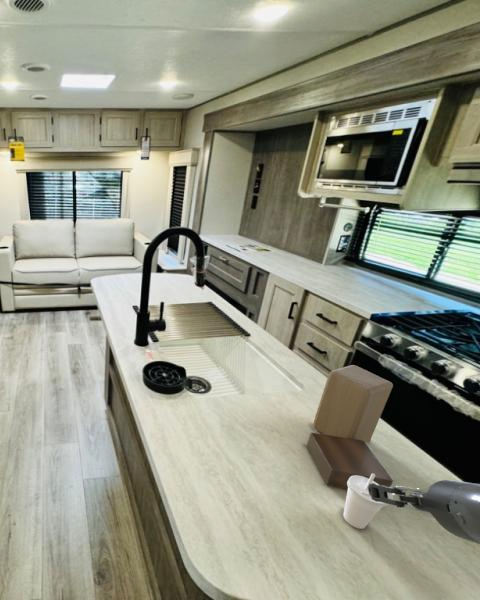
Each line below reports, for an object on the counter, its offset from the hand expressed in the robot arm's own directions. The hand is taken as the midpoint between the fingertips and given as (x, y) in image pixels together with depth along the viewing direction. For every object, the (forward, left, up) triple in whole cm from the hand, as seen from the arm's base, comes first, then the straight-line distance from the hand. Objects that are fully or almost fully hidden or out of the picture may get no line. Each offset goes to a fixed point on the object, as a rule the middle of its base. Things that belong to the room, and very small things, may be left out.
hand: (399, 495), depth 56 cm
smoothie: (0, -6, -16) cm, 17 cm away
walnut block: (-4, -20, -16) cm, 26 cm away
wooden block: (-9, -33, -16) cm, 38 cm away
